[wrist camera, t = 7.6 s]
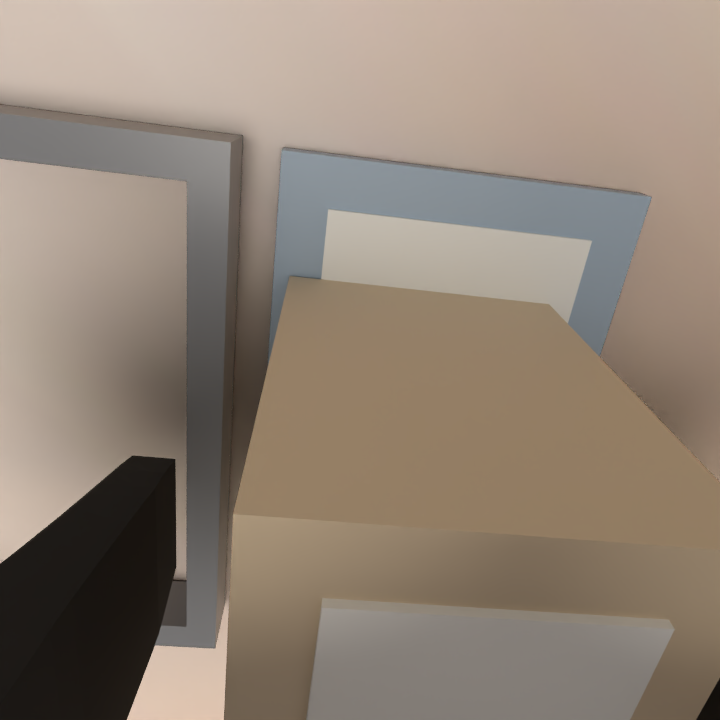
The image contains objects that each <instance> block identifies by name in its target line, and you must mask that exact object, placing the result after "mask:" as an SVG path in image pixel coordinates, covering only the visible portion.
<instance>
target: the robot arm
mask: <svg viewBox="0 0 720 720" xmlns="http://www.w3.org/2000/svg"><path fill="white" fill-rule="evenodd" d="M175 569H176V478H175V459H167V458H155V457H143V456H131V457H130V458H129V459H127V460H126V461H125V462H124V463H122V464H121V465H120V466H119V467H118V468H116V469H115V470H114V471H113V472H112V473H110V474H109V475H108V476H107V477H106V478H104V479H103V480H102V481H101V482H100V483H99V484H97V485H96V486H95V487H94V488H93V489H92V490H90V491H89V492H88V493H87V494H86V495H85V496H83V497H82V498H81V499H80V500H79V501H77V502H76V503H75V504H74V505H73V506H71V507H70V508H69V509H68V510H67V511H66V512H64V513H63V514H62V515H61V516H60V517H58V518H57V519H56V520H55V521H53V522H52V523H51V524H50V525H48V526H47V527H46V528H45V529H43V530H42V531H41V532H40V533H38V534H37V535H36V536H35V537H33V538H32V539H31V540H30V541H28V542H27V543H26V544H25V545H24V546H22V547H21V548H20V549H19V550H17V551H16V552H15V553H14V554H12V555H11V556H10V557H8V558H7V559H6V560H5V561H3V562H2V563H1V564H0V720H127V717H128V715H129V712H130V710H131V707H132V704H133V702H134V699H135V696H136V694H137V691H138V689H139V686H140V683H141V681H142V678H143V675H144V673H145V670H146V667H147V665H148V662H149V659H150V657H151V654H152V651H153V648H154V646H155V643H156V640H157V638H158V635H159V632H160V628H161V624H162V620H163V617H164V613H165V609H166V605H167V601H168V597H169V593H170V589H171V585H172V581H173V577H174V573H175ZM696 720H720V678H719V680H718V682H717V684H716V685H715V687H714V689H713V691H712V692H711V694H710V696H709V698H708V700H707V701H706V703H705V705H704V707H703V708H702V710H701V712H700V714H699V715H698V717H697V719H696Z"/></svg>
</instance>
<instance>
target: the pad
mask: <svg viewBox="0 0 720 720" xmlns="http://www.w3.org/2000/svg"><path fill="white" fill-rule="evenodd" d="M651 198H652V197H650V196H647V195H645V194H642V193H637V192H629V191H621V190H613V189H605V188H598V187H590V186H582V185H574V184H566V183H559V182H551V181H543V180H535V179H527V178H519V177H512V176H504V175H496V174H488V173H480V172H472V171H465V170H457V169H449V168H441V167H433V166H425V165H418V164H410V163H402V162H394V161H386V160H378V159H371V158H363V157H355V156H347V155H339V154H331V153H324V152H316V151H308V150H300V149H292V148H283V149H282V153H281V168H280V184H279V199H278V214H277V229H276V245H275V260H274V275H273V290H272V306H271V321H270V336H269V352H268V365H269V360H270V356H271V352H272V348H273V343H274V339H275V335H276V331H277V327H278V322H279V318H280V314H281V310H282V306H283V301H284V297H285V293H286V289H287V284H288V280H289V276H296V277H305V278H314V279H323V280H332V281H341V282H350V283H359V284H369V285H378V286H387V287H396V288H405V289H414V290H424V291H433V292H442V293H451V294H460V295H469V296H478V297H488V298H497V299H506V300H515V301H524V302H533V303H542V304H549V305H550V306H551V307H552V308H553V309H554V310H555V311H556V312H557V313H558V314H559V315H560V316H561V317H562V318H563V319H564V320H565V321H566V322H567V323H568V325H569V326H570V327H571V328H572V329H573V330H574V331H575V332H576V333H577V334H578V335H579V336H580V337H581V338H582V339H583V340H584V341H585V342H586V343H587V344H588V345H589V346H590V347H591V349H592V350H593V351H594V352H595V353H596V354H597V355H598V356H599V357H600V354H601V351H602V348H603V345H604V342H605V339H606V336H607V333H608V330H609V326H610V323H611V320H612V317H613V314H614V311H615V308H616V305H617V302H618V299H619V296H620V293H621V290H622V287H623V284H624V281H625V278H626V275H627V271H628V268H629V265H630V262H631V259H632V256H633V253H634V250H635V247H636V244H637V241H638V238H639V235H640V232H641V229H642V226H643V223H644V220H645V217H646V213H647V210H648V207H649V204H650V201H651ZM267 369H268V367H267Z"/></svg>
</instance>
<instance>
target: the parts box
mask: <svg viewBox="0 0 720 720" xmlns="http://www.w3.org/2000/svg"><path fill="white" fill-rule="evenodd" d="M719 678H720V482H719V481H718V480H717V479H716V478H715V477H714V476H713V475H712V474H711V473H710V472H709V471H708V470H707V468H706V467H705V466H704V465H703V464H702V463H701V462H700V461H699V460H698V459H697V458H696V457H695V456H694V455H693V454H692V453H691V452H690V451H689V450H688V449H687V448H686V447H685V446H684V444H683V443H682V442H681V441H680V440H679V439H678V438H677V437H676V436H675V435H674V434H673V433H672V432H671V431H670V430H669V429H668V428H667V427H666V426H665V425H664V424H663V423H662V422H661V420H660V419H659V418H658V417H657V416H656V415H655V414H654V413H653V412H652V411H651V410H650V409H649V408H648V407H647V406H646V405H645V404H644V403H643V402H642V401H641V400H640V399H639V398H638V396H637V395H636V394H635V393H634V392H633V391H632V390H631V389H630V388H629V387H628V386H627V385H626V384H625V383H624V382H623V381H622V380H621V379H620V378H619V377H618V376H617V375H616V374H615V373H614V371H613V370H612V369H611V368H610V367H609V366H608V365H607V364H606V363H605V362H604V361H603V360H602V359H601V358H600V357H599V356H598V355H597V354H596V353H595V352H594V351H593V350H592V349H591V347H590V346H589V345H588V344H587V343H586V342H585V341H584V340H583V339H582V338H581V337H580V336H579V335H578V334H577V333H576V332H575V331H574V330H573V329H572V328H571V327H570V326H569V325H568V323H567V322H566V321H565V320H564V319H563V318H562V317H561V316H560V315H559V314H558V313H557V312H556V311H555V310H554V309H553V308H552V307H551V306H550V305H549V304H542V303H533V302H524V301H515V300H506V299H497V298H488V297H478V296H469V295H460V294H451V293H442V292H433V291H424V290H414V289H405V288H396V287H387V286H378V285H369V284H359V283H350V282H341V281H332V280H323V279H314V278H305V277H296V276H289V280H288V284H287V289H286V293H285V297H284V301H283V306H282V310H281V314H280V318H279V322H278V327H277V331H276V335H275V339H274V343H273V348H272V352H271V356H270V360H269V365H268V369H267V373H266V377H265V381H264V386H263V390H262V394H261V398H260V402H259V407H258V411H257V415H256V419H255V424H254V428H253V432H252V436H251V440H250V445H249V449H248V453H247V457H246V461H245V466H244V470H243V474H242V478H241V483H240V487H239V491H238V495H237V499H236V504H235V508H234V512H233V526H232V549H231V572H230V595H229V618H228V641H227V664H226V687H225V710H224V720H696V719H697V717H698V715H699V714H700V712H701V710H702V708H703V707H704V705H705V703H706V701H707V700H708V698H709V696H710V694H711V692H712V691H713V689H714V687H715V685H716V684H717V682H718V680H719Z"/></svg>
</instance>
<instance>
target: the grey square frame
mask: <svg viewBox="0 0 720 720" xmlns="http://www.w3.org/2000/svg"><path fill="white" fill-rule="evenodd" d="M242 149H243V135H235V134H227V133H220V132H212V131H204V130H196V129H188V128H181V127H173V126H165V125H157V124H150V123H142V122H134V121H126V120H118V119H111V118H103V117H95V116H87V115H80V114H72V113H64V112H56V111H49V110H41V109H33V108H25V107H17V106H10V105H2V104H0V159H6V160H14V161H23V162H31V163H39V164H48V165H56V166H64V167H72V168H81V169H89V170H97V171H105V172H114V173H122V174H130V175H138V176H147V177H155V178H163V179H172V180H180V181H187V582H184V581H172V585H171V589H170V593H169V597H168V601H167V605H166V609H165V613H164V617H163V620H162V624H161V628H160V632H159V635H158V638H157V640H156V643H155V645H159V646H178V647H196V648H215V647H216V643H217V638H218V633H219V629H220V624H221V619H222V614H223V610H224V605H225V587H226V561H227V535H228V510H229V484H230V458H231V432H232V407H233V381H234V355H235V329H236V303H237V278H238V252H239V226H240V200H241V174H242Z"/></svg>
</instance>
